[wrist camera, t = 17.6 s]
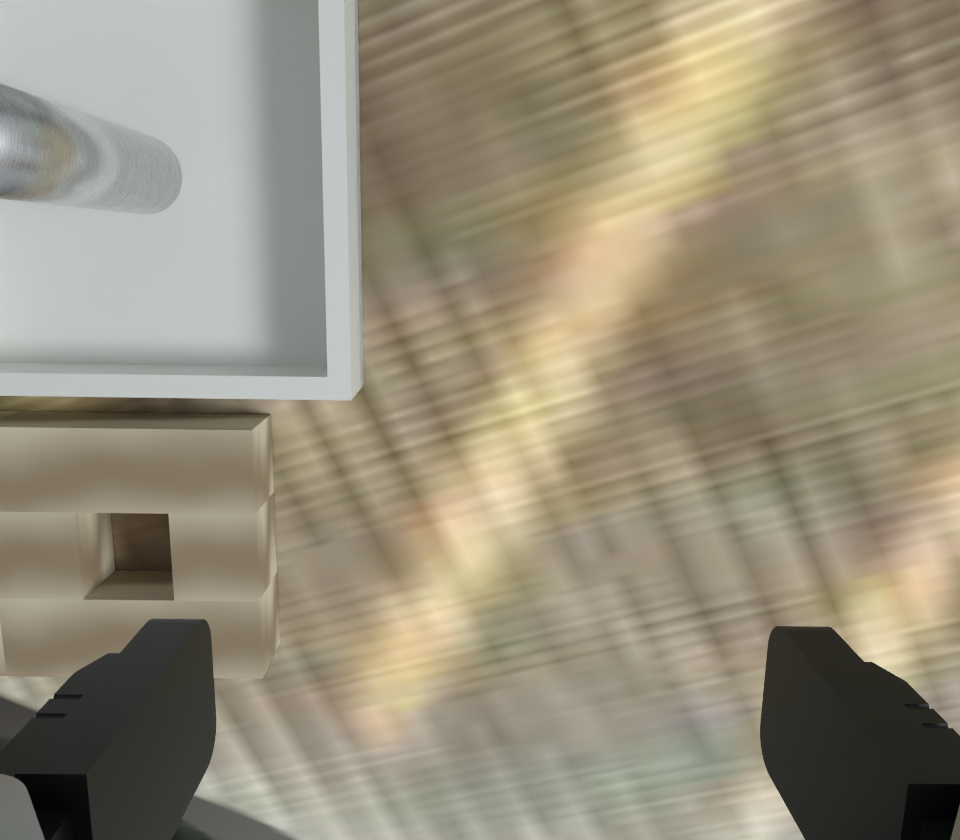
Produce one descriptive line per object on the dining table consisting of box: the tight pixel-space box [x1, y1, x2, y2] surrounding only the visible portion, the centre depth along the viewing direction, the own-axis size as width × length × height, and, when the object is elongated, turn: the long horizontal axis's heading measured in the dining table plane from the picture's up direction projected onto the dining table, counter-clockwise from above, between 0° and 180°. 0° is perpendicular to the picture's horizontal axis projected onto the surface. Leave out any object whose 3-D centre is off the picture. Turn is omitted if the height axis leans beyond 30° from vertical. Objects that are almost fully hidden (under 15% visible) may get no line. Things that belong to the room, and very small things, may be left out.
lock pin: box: [0, 83, 182, 215], centre depth 28 cm, size 5×5×17 cm
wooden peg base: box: [0, 411, 280, 679], centre depth 38 cm, size 12×22×6 cm, turn 89°
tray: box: [0, 0, 364, 400], centre depth 35 cm, size 19×19×4 cm
